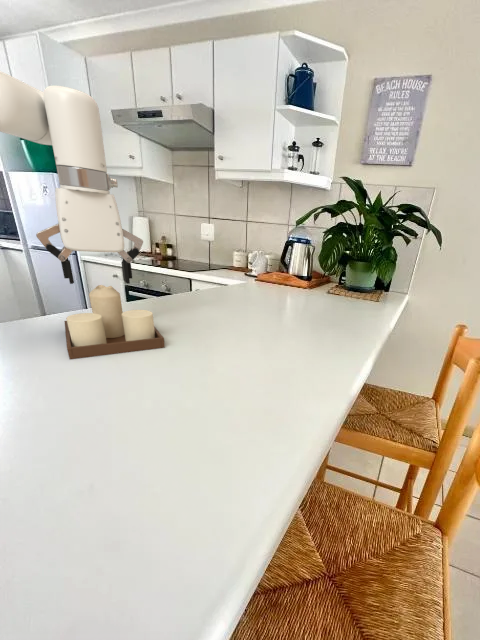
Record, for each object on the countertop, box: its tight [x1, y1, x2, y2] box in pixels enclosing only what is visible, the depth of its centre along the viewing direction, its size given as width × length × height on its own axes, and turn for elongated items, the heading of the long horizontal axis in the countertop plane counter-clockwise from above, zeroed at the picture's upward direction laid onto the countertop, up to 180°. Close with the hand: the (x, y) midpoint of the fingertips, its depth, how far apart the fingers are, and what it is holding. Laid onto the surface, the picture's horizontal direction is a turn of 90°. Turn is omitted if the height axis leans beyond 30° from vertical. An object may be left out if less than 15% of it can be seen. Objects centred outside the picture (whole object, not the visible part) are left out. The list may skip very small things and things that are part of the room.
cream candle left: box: [65, 312, 107, 347], centre depth 60 cm, size 6×6×6 cm
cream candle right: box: [122, 309, 155, 341], centre depth 65 cm, size 6×6×6 cm
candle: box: [88, 284, 125, 338], centre depth 67 cm, size 6×6×10 cm
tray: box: [63, 320, 166, 360], centre depth 67 cm, size 16×17×3 cm
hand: (100, 282), depth 64 cm, fingers open, 9 cm apart
